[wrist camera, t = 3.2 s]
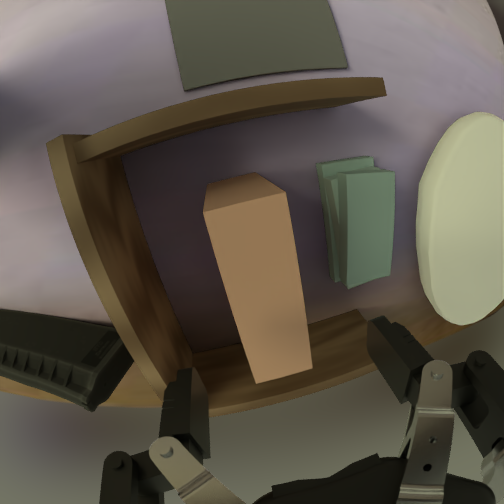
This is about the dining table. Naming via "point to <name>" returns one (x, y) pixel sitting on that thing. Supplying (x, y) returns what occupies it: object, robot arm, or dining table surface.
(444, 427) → the robot arm
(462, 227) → the plate
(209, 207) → the tan block
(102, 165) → the walnut rack
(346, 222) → the offcut stack
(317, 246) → the dining table surface
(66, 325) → the magazine
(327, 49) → the charcoal mat
